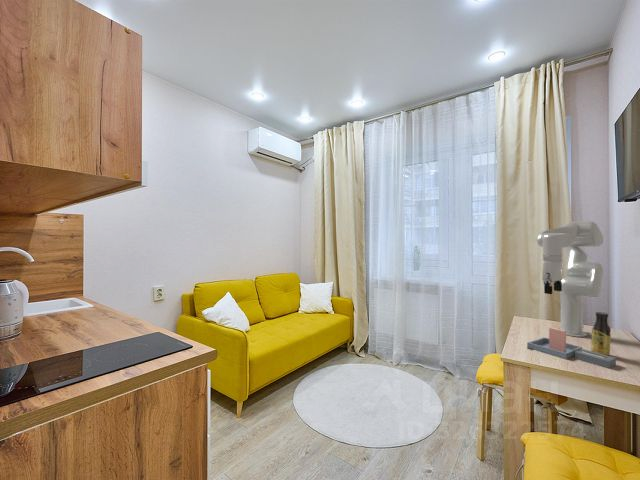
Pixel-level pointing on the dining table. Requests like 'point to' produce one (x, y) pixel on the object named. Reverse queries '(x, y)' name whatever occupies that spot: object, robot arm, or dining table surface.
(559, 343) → the ticket
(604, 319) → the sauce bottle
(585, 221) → the robot arm
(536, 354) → the dining table surface
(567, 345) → the tray
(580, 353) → the dispenser
